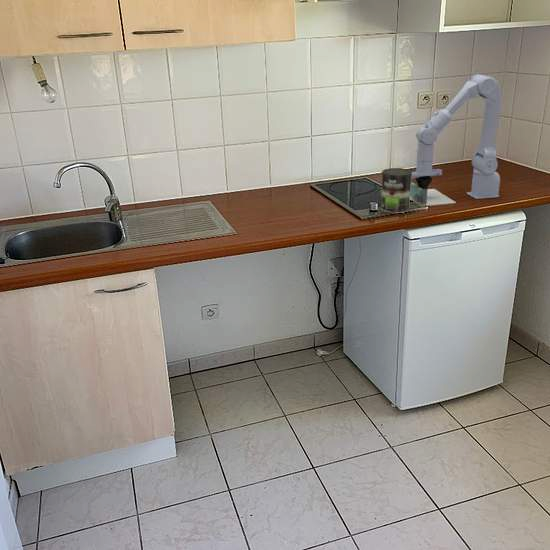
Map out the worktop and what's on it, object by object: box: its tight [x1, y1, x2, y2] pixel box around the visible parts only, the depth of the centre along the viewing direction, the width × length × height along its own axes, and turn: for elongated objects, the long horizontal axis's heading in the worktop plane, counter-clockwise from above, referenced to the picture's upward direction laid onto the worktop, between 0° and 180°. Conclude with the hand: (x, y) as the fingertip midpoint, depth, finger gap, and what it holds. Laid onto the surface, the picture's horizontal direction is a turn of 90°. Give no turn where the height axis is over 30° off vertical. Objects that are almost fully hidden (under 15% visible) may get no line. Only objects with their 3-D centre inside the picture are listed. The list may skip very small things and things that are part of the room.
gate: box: [410, 181, 422, 202], centre depth 220 cm, size 2×11×4 cm, turn 10°
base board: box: [410, 188, 457, 207], centre depth 222 cm, size 15×19×1 cm
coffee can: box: [380, 167, 413, 214], centre depth 207 cm, size 10×10×14 cm
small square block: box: [414, 188, 429, 205], centre depth 215 cm, size 3×6×6 cm, turn 10°
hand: (422, 195), depth 220 cm, fingers closed
